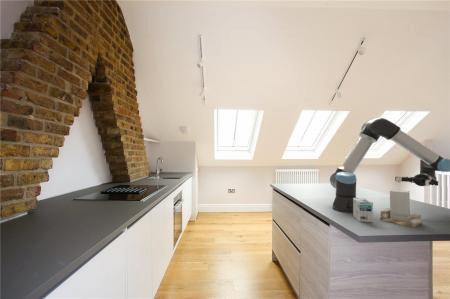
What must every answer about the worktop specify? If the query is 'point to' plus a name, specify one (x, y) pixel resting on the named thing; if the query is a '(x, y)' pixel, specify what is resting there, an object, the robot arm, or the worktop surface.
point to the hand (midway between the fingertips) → (410, 181)
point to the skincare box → (399, 205)
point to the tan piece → (412, 222)
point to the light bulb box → (363, 210)
